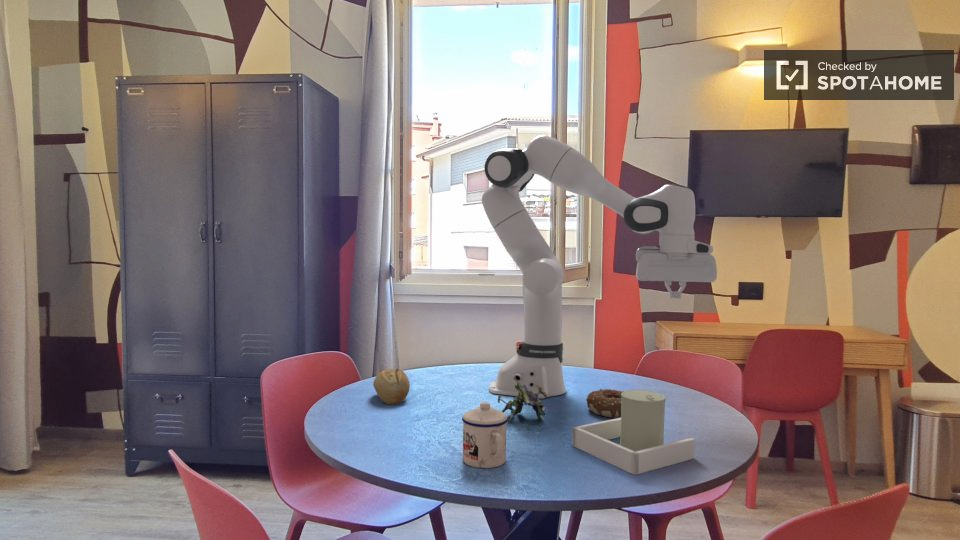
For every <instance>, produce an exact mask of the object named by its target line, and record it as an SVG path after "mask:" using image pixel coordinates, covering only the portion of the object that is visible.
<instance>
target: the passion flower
mask: <svg viewBox="0 0 960 540" xmlns="http://www.w3.org/2000/svg"><path fill="white" fill-rule="evenodd" d="M515 388H516V389H517V390H518V392H519V393H518V396H515V397H514V398H513V400H509V401H508V402H506V401H504V400H503V399H502V396H501V395H498V396H497V403H498V404H500V402H503V403H504V404H505V406H504V408H503V409H502V410H501V412H503V413H505V412H506V411H508V410H510V417H509V419H508V423H510V422H511V420H512V419H513V417H515V416H517V415H518V414H521V413H522V411H523V407H524V406H530V407H531V408H532V409H533V410H534V411H535V414H536V418H537V420H538V422H544V419H543V417H546V416H547V413H546V410H547V406H545V404H544V403H543V402H542V401H541V400H540V398H539V397H538V395H539V394H543V395H544V396H545V397H546V398H548V397H547V395H546V393H545V392H544V390H543V389H542V388H541V387H540V386H538V385H537V388H538V390H539V392H538V393H537V394H534V393H533V392H532V391H531V390H530V389H528V388H527V387H526V385H524V384H523V386H521V384H520V383H519V382H517V386H516V384H515ZM513 407H514V408H513Z"/></svg>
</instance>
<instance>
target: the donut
mask: <svg viewBox="0 0 960 540" xmlns="http://www.w3.org/2000/svg"><path fill="white" fill-rule="evenodd" d="M624 391H625V390H623V391H622V390H617V389H611V388H605V389H604V388H603V389H601V388H600V389H598V390H593V391H591V392H589V394H587V397H586V399H585V400H586V405H587V408H588V409H589V410H590V411H591V412H592V413H594V414H595V415H598V416H601V417H605V418H607V417H608V418H613V419H616V418H621V393H622V392H624Z"/></svg>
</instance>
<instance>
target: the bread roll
mask: <svg viewBox="0 0 960 540" xmlns="http://www.w3.org/2000/svg"><path fill="white" fill-rule="evenodd" d="M372 383H373V388H374V390H375V392H376V394H377V395H378V397H379V399H380V400H381V401H382V402H383V403H384V404H386V405H387V404H388V405H391V406H392V405H393V406H394V405H395V406H396V405H399V404H401V403H402V402H404V401H405V400H406V398H407V396H408V395H409V392H410V388H411V387H410V380H409V378H408V376H407V373H405V372H404V371H403V370H400V369H398V368H397V369H393V368H391V369H386V370H382V371H380V372H379V373H377V375H376V376H375V378H374V379H373V382H372Z"/></svg>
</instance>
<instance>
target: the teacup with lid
mask: <svg viewBox="0 0 960 540" xmlns="http://www.w3.org/2000/svg"><path fill="white" fill-rule="evenodd" d="M461 421H462V460H463V462H464V464H465V465H468V466H469V467H473V468H479V469H493V468H497V467H500V466H502V465H504V464H505V463H506V462H507V461H506V460H507V424H508V422H509V419H508V416H507V414H506V413H505V412H504V413H503V412H502V410H498V409H495V408H494V407H492V406H491V403H490V402H488V401H483V402H481V403H480V404H479V406H478V407H475V408H474V409H471V410H468V411H466V412H464V413H463V415H462V418H461Z"/></svg>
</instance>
